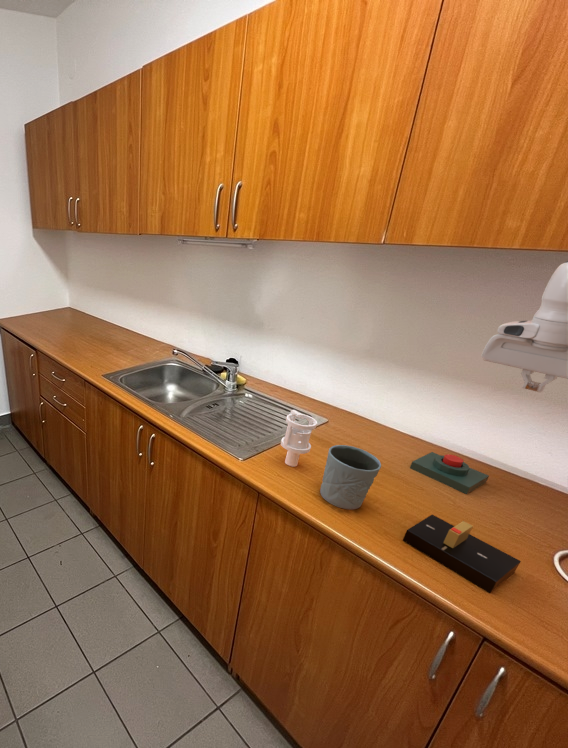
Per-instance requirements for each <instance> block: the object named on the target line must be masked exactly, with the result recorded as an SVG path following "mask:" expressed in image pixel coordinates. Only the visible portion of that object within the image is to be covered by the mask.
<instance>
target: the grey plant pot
mask: <svg viewBox="0 0 568 748" xmlns="http://www.w3.org/2000/svg"><path fill="white" fill-rule="evenodd" d="M381 468H382V464H381V461H380V459H379V458H377V457H376V455H373V454H372V453H370V452H369V451H367V450H365V449H362V448H359V447H355V446H353V445H345V444H336V445H332V446H331V447H329V449H328V451H327V457H326V464H325V466H324V472H323V476H322V483H321V484H320V489H319V493H320V495H321V498H323V499H324V500H325V501H326V502H327V503H329V504H331V505H332V506H334V507H337V508H340V509H344V510H357V509H359V508H360V507H361V506H362V505H363V502H364V501H365V499H366V497H367V494H368V493H369V490H370V489H371V487H372V485H373V483H374V481H375V478H376V477H377V476H378V475H379V472H380V470H381Z"/></svg>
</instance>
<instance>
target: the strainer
mask: <svg viewBox="0 0 568 748" xmlns="http://www.w3.org/2000/svg"><path fill="white" fill-rule="evenodd" d="M296 419H303V420H306V421H308V423H307V424H300V423H299V422H297V421H296ZM285 422H286V424H287V427H286V430H285V435H284V436H283V437H282V438H281V440H280V446H281V447H282V448H283V449H285V450H286V451H287V452H286V456H285V460H284V464H285V465H287V466H289V467H293V468H294V467H297V466H298V463H299V459H300V456H301V455H303V454H304V455H305V454H308V453H310V452H311V448H312V445H311V443H310V440H311V435H312V432H313V430H315V429H316V428H317V425H318V421H317V419H316V418H314V417H313V416H310V415H307V414H304V413H301V412H300V411H298V410H296V409H291V410H290V413H289V414H287V415H286V417H285Z"/></svg>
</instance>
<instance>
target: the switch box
mask: <svg viewBox="0 0 568 748" xmlns="http://www.w3.org/2000/svg"><path fill="white" fill-rule="evenodd" d="M444 456H445V455H442V454H438V453H437V452H433V451H430V452H429V453H427V454H425V455H423V456H420V457H418V458H416V459H415V460H412V461H411V464H410V466H409V469H410V470H412V471H415V472H417V473H420V474H421V475H423V476H426V477H428V478H430V479H431V480H434V481H437V482H439V483H441V484H443V485H445V486H447V487H450V488H451V489H454V490H456V491H458V492H459V493H462V494H465V495H468V494H470V493H471V492H473V491H475V490H476V489H478V488H480V487H481V486H482V485H484V484H486V483H487V481H488V479H489V477H490V475H489V474H487V473H484V472H482V471H479V470H477V469H474V468H471V467H470V465H469V464H468V463H466V462H464V461H463V464H462V466H461V467H460V468H457V467H452V466H449V465H447V464H445V463H443V462H442V461H443V458H444Z"/></svg>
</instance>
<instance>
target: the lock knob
mask: <svg viewBox="0 0 568 748" xmlns="http://www.w3.org/2000/svg"><path fill="white" fill-rule="evenodd" d="M453 526H454V527H453V528H451V529H450V530H449V532H448V534H447V536H446V538H445V540H444V542H443V543H444V544H446V545H448V546H449V547H451V548H454V547H456V546H457V545H459V544H460V543H462V542H463V541H464V540H466V539H467V538H468V536H469V534H470V533H471V531H472V529H473V527H474V525H473V524H470V523H469V522H467V521H465V520H462V521H461V522H459V523H458V524H456V525H453ZM470 535H471V534H470Z"/></svg>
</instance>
